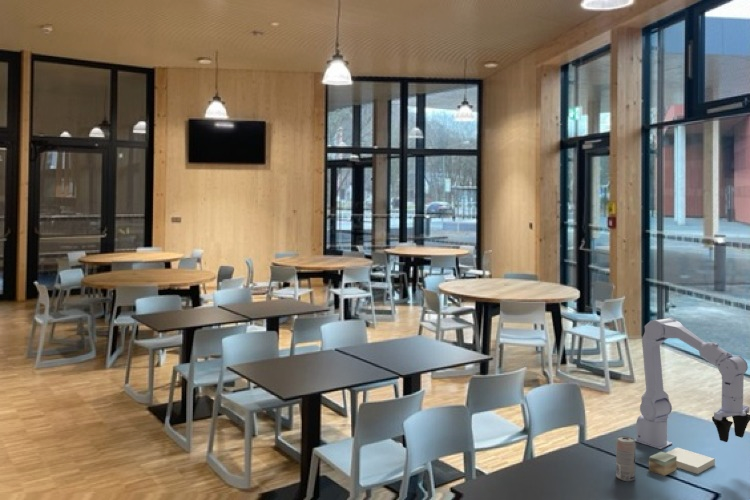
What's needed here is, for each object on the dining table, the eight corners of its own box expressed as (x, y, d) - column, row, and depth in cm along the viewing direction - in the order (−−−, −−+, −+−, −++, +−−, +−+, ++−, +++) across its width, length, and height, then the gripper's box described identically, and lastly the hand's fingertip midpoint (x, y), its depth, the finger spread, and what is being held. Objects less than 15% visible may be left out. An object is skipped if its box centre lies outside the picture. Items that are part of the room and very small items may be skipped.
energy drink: (634, 475, 187) (634, 436, 186) (635, 482, 182) (636, 443, 181) (615, 473, 189) (615, 435, 188) (616, 480, 184) (616, 441, 183)
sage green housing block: (648, 470, 190) (649, 456, 190) (660, 465, 195) (661, 451, 194) (664, 476, 186) (664, 461, 186) (676, 470, 190) (676, 456, 190)
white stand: (659, 461, 197) (659, 455, 197) (677, 453, 203) (677, 447, 203) (697, 474, 187) (697, 467, 187) (714, 464, 194) (714, 458, 194)
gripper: (730, 402, 181) (729, 447, 182) (759, 395, 188) (758, 438, 189) (707, 396, 188) (707, 439, 189) (737, 389, 194) (736, 431, 195)
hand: (731, 438), depth 189 cm, fingers open, 7 cm apart
